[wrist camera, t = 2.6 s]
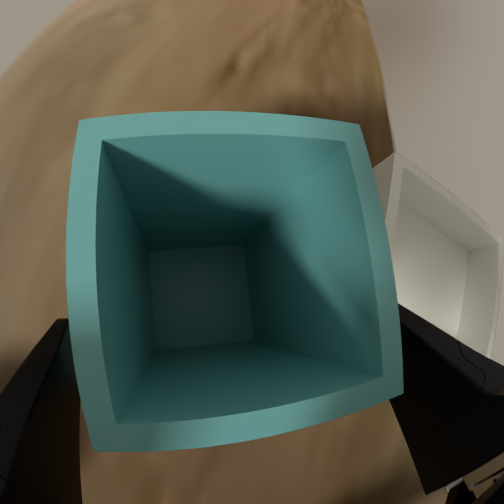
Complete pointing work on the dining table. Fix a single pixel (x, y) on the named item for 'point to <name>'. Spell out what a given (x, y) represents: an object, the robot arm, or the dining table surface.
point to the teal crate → (226, 278)
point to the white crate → (441, 254)
